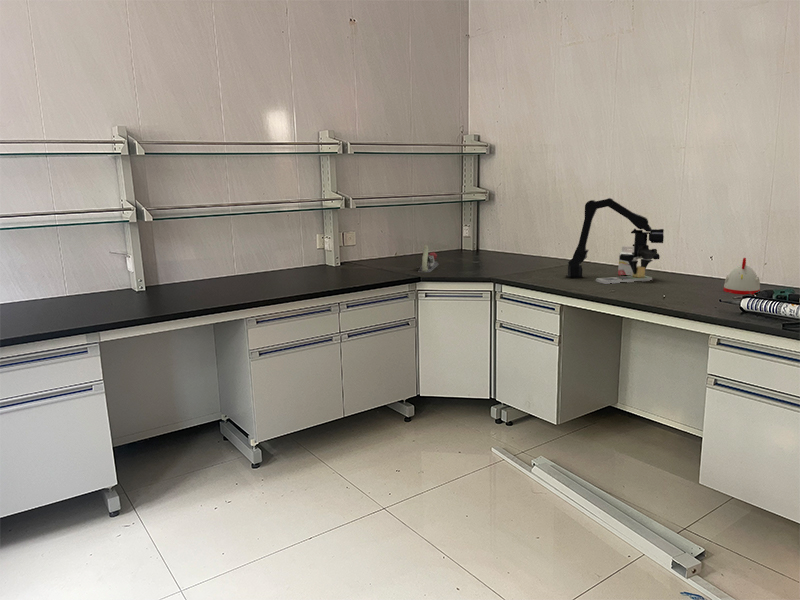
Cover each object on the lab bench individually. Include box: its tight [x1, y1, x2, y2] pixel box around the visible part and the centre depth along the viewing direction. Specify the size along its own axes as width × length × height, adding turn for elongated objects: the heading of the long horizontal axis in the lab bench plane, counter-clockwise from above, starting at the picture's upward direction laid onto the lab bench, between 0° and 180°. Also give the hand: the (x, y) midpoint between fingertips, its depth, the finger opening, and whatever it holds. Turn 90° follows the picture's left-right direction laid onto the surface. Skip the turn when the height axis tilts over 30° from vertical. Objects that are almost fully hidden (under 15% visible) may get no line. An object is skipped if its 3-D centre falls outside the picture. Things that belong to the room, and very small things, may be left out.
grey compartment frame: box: [595, 275, 653, 285], centre depth 293 cm, size 26×8×2 cm, turn 102°
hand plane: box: [417, 244, 440, 274], centre depth 345 cm, size 7×31×15 cm, turn 167°
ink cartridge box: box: [617, 246, 639, 276], centre depth 307 cm, size 9×5×15 cm, turn 57°
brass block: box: [633, 265, 646, 278], centre depth 294 cm, size 4×4×6 cm
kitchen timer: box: [723, 257, 761, 295], centre depth 261 cm, size 14×14×15 cm
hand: (638, 273), depth 294 cm, fingers closed on brass block, 4 cm apart
